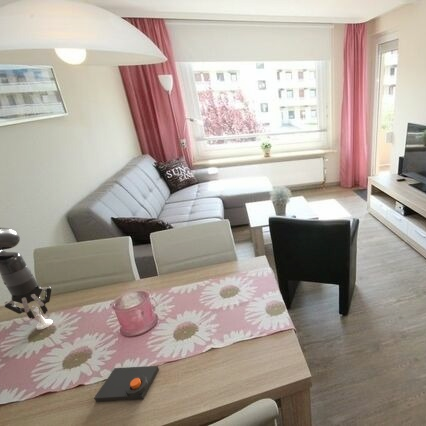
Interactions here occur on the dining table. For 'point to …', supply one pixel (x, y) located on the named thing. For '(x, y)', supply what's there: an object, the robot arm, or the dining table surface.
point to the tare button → (135, 383)
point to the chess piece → (41, 319)
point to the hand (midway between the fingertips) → (39, 315)
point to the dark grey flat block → (126, 384)
